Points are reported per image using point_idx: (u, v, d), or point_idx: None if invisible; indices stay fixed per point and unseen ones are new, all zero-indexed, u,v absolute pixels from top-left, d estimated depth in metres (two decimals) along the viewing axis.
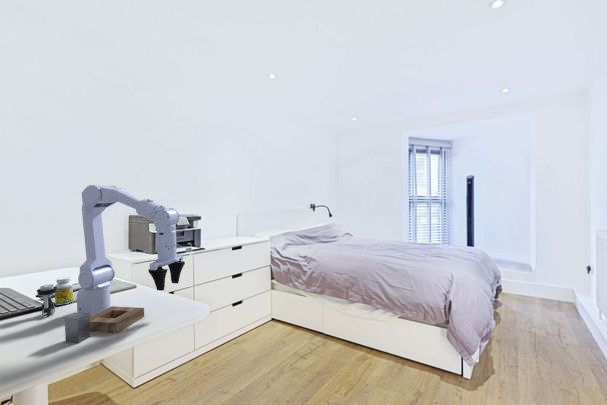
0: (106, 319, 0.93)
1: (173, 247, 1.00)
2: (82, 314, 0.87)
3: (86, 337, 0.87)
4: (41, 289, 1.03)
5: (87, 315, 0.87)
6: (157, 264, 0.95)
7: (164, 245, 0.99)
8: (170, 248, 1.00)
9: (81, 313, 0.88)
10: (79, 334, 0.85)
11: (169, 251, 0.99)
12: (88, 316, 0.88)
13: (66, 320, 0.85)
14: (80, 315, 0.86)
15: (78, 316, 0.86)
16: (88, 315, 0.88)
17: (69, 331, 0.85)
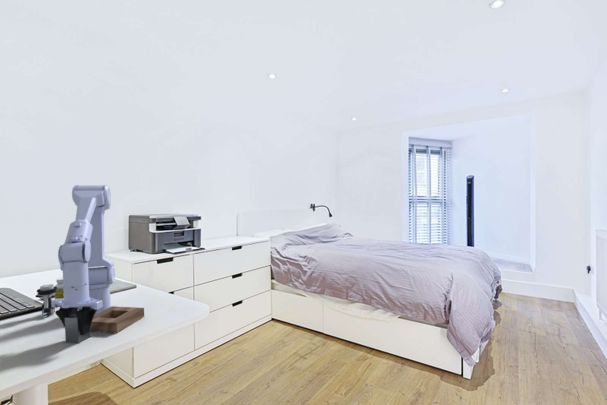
0: (106, 319, 0.93)
1: (65, 289, 0.84)
2: None
3: (86, 337, 0.87)
4: (41, 289, 1.03)
5: None
6: (54, 302, 0.86)
7: (63, 285, 0.84)
8: (63, 289, 0.84)
9: None
10: (79, 334, 0.85)
11: None
12: None
13: (66, 320, 0.85)
14: None
15: None
16: None
17: (69, 331, 0.85)
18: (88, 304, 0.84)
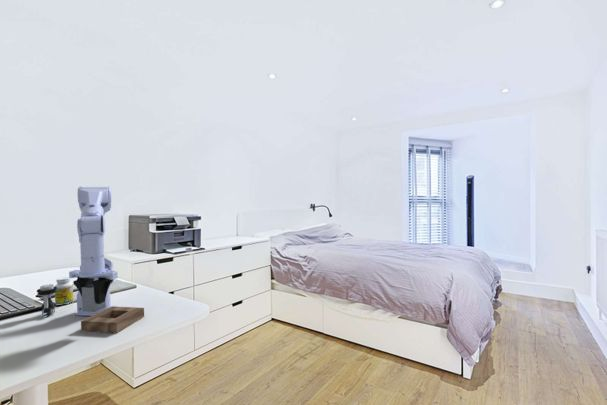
0: (106, 319, 0.93)
1: (82, 260, 0.88)
2: None
3: (102, 307, 0.92)
4: (41, 289, 1.03)
5: None
6: (71, 273, 0.91)
7: (81, 256, 0.89)
8: (81, 260, 0.89)
9: None
10: (95, 303, 0.89)
11: (81, 263, 0.89)
12: None
13: (83, 290, 0.89)
14: None
15: None
16: None
17: (86, 300, 0.89)
18: (104, 274, 0.89)
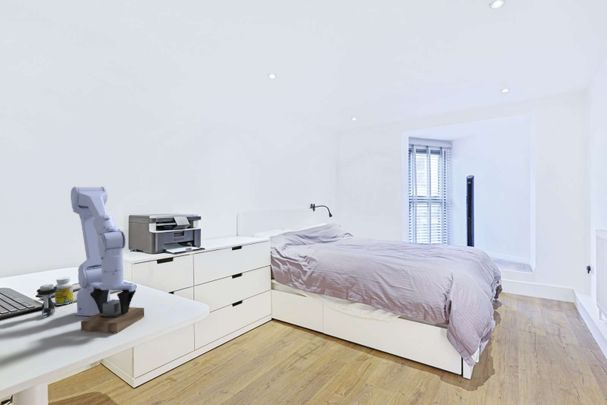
0: (106, 319, 0.93)
1: (103, 273, 0.94)
2: (117, 301, 0.97)
3: None
4: (41, 289, 1.03)
5: None
6: (92, 285, 0.97)
7: (103, 270, 0.94)
8: (102, 273, 0.95)
9: (116, 300, 0.98)
10: None
11: (102, 276, 0.95)
12: None
13: (104, 306, 0.95)
14: (116, 302, 0.97)
15: (114, 302, 0.96)
16: None
17: (106, 316, 0.95)
18: (124, 287, 0.95)
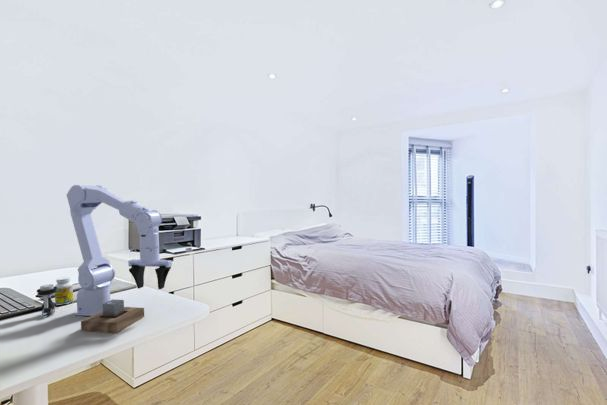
0: (106, 319, 0.93)
1: (142, 250, 1.00)
2: (117, 301, 0.97)
3: None
4: (41, 289, 1.03)
5: (121, 302, 0.98)
6: (130, 262, 1.02)
7: (146, 247, 1.00)
8: (140, 250, 1.00)
9: (116, 300, 0.98)
10: None
11: (140, 252, 1.00)
12: (122, 303, 0.98)
13: (104, 306, 0.95)
14: (116, 302, 0.97)
15: (114, 302, 0.96)
16: (122, 302, 0.98)
17: (106, 316, 0.95)
18: (161, 263, 1.00)
